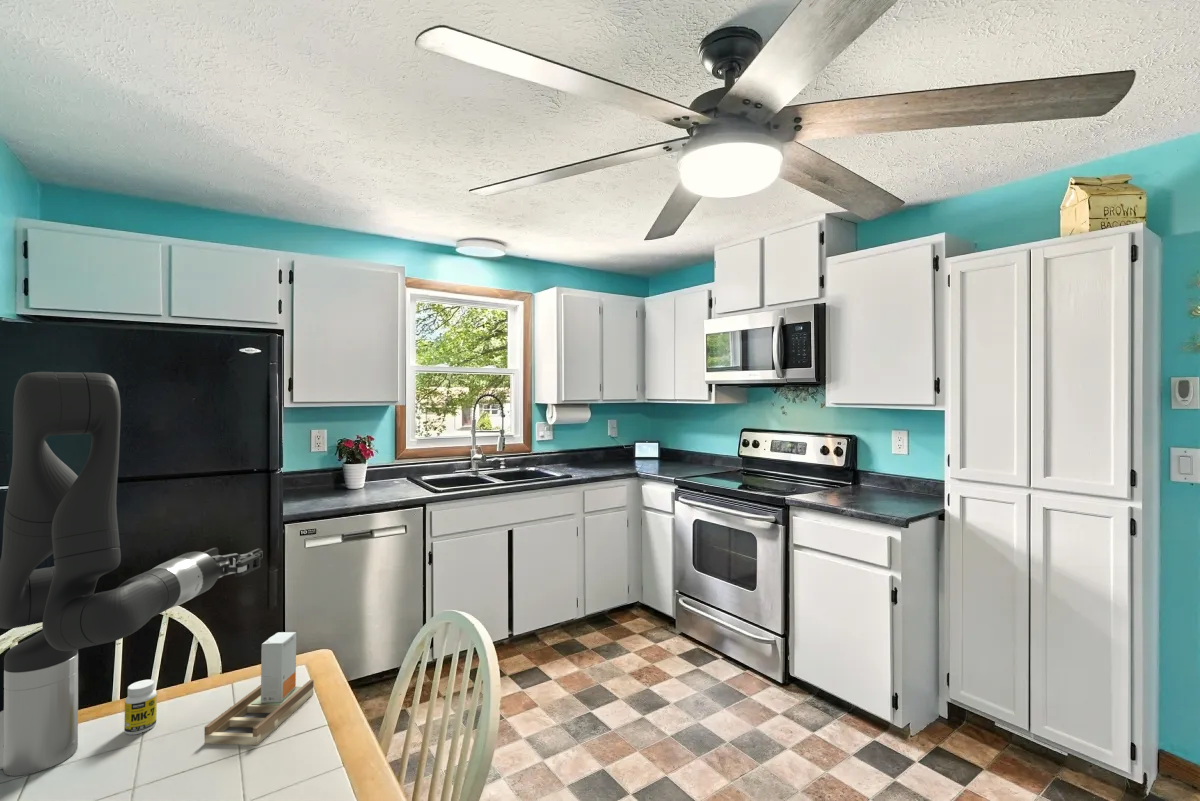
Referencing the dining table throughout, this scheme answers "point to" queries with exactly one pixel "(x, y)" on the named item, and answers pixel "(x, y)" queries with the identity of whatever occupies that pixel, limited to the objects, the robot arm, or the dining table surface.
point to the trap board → (254, 717)
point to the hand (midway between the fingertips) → (238, 553)
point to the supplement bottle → (140, 707)
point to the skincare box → (278, 667)
